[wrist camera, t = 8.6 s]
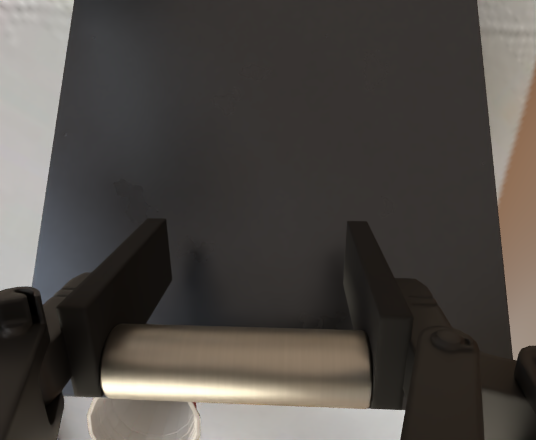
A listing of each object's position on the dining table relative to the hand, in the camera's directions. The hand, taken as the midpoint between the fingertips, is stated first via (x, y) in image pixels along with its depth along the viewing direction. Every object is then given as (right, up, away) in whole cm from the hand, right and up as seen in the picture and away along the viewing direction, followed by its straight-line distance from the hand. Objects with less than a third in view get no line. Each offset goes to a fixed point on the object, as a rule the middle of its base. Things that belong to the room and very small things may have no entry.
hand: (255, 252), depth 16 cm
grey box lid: (0, +4, +5) cm, 6 cm away
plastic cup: (-11, -14, +34) cm, 38 cm away
